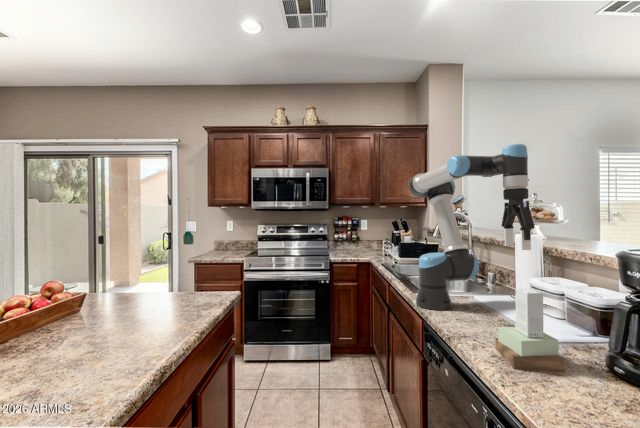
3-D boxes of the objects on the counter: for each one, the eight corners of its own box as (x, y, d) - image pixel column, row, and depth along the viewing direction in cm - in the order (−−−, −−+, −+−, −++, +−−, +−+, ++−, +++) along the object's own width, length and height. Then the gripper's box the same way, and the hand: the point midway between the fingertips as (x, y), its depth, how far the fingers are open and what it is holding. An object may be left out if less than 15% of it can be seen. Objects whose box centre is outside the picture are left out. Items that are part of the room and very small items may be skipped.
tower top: (498, 340, 90) (497, 327, 90) (531, 339, 90) (530, 326, 90) (521, 356, 80) (521, 341, 80) (558, 355, 80) (558, 339, 80)
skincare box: (544, 338, 81) (543, 293, 82) (527, 337, 82) (527, 293, 82) (530, 330, 87) (530, 288, 88) (514, 329, 88) (514, 288, 88)
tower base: (495, 351, 92) (495, 338, 92) (539, 353, 90) (539, 340, 90) (513, 371, 80) (513, 356, 80) (564, 374, 78) (564, 358, 78)
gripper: (546, 184, 95) (547, 251, 95) (512, 190, 120) (513, 244, 120) (519, 185, 97) (521, 251, 97) (491, 191, 121) (493, 244, 121)
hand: (517, 247), depth 108 cm, fingers open, 13 cm apart
